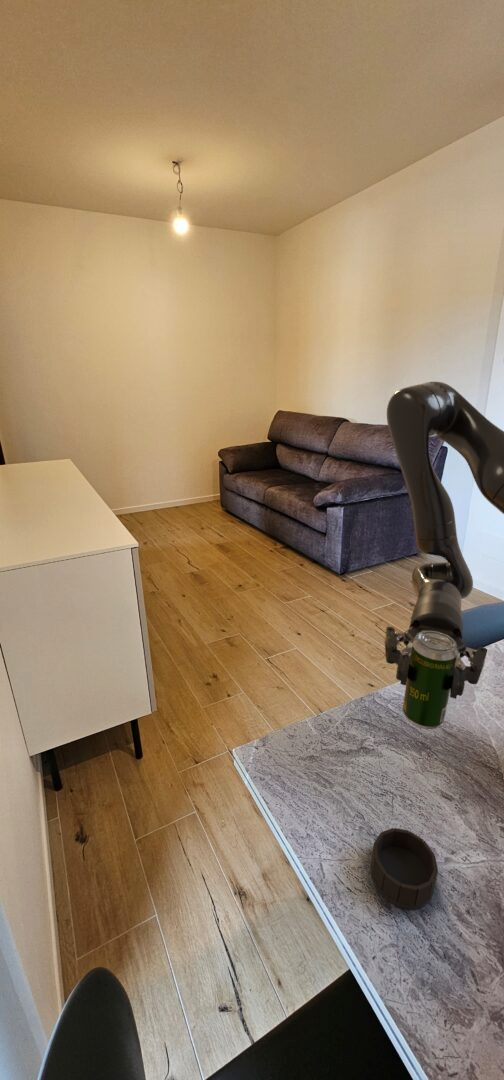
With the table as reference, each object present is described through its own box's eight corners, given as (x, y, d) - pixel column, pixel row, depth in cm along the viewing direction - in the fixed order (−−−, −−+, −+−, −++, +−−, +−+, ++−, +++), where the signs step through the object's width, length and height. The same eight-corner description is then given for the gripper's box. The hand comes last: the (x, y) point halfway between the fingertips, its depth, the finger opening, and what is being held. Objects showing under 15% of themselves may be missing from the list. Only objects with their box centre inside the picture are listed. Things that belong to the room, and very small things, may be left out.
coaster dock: (427, 852, 55) (431, 833, 54) (439, 916, 48) (444, 896, 47) (368, 841, 56) (371, 823, 55) (372, 902, 49) (375, 882, 48)
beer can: (445, 710, 63) (460, 636, 58) (441, 736, 58) (457, 658, 54) (405, 698, 65) (416, 625, 61) (398, 722, 60) (410, 646, 56)
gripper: (392, 591, 73) (373, 646, 58) (491, 610, 67) (498, 676, 53) (387, 632, 75) (368, 694, 61) (482, 653, 70) (486, 727, 55)
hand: (428, 685), depth 57 cm, fingers closed on beer can, 5 cm apart
